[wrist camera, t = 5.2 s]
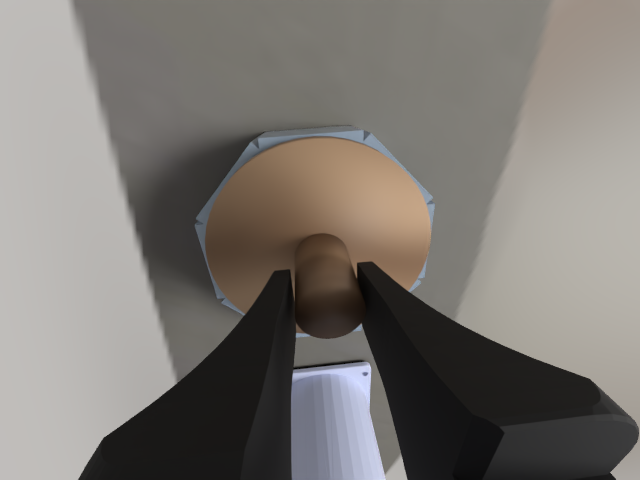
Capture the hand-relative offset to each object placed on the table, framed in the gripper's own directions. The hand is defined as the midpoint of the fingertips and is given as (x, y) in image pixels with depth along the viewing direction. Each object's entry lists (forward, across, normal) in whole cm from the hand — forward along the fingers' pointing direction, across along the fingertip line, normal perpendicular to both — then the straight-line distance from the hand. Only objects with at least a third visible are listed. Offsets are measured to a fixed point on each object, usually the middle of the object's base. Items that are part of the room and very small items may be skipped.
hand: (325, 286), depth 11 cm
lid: (+2, 0, 0) cm, 2 cm away
